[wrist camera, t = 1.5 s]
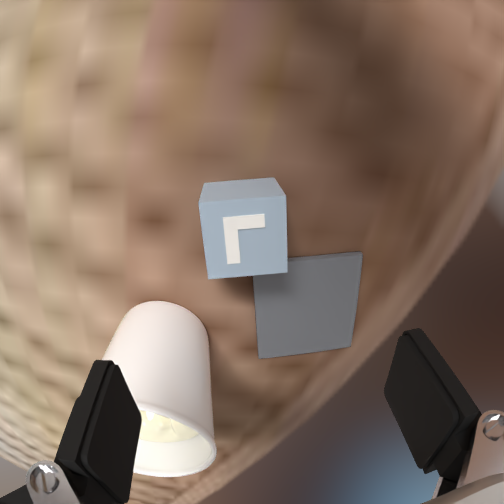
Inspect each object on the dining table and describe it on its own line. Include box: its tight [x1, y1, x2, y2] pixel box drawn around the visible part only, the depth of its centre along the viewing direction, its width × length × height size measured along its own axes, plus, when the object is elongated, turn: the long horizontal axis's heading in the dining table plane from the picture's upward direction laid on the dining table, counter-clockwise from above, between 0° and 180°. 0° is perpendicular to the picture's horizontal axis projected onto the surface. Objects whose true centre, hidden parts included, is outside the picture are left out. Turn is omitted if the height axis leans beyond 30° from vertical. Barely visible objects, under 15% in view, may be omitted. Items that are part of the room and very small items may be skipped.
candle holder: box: [102, 301, 217, 477], centre depth 23 cm, size 10×10×12 cm
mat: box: [253, 251, 363, 359], centre depth 27 cm, size 10×9×1 cm
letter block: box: [198, 178, 287, 279], centre depth 21 cm, size 5×5×5 cm
